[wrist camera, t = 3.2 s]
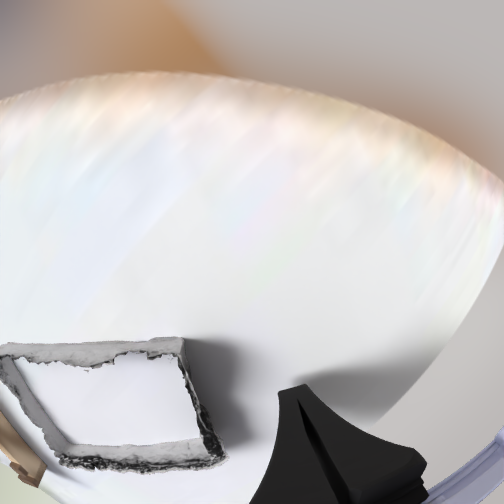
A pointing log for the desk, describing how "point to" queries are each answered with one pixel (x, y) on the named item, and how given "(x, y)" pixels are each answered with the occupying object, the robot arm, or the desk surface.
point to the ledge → (20, 455)
